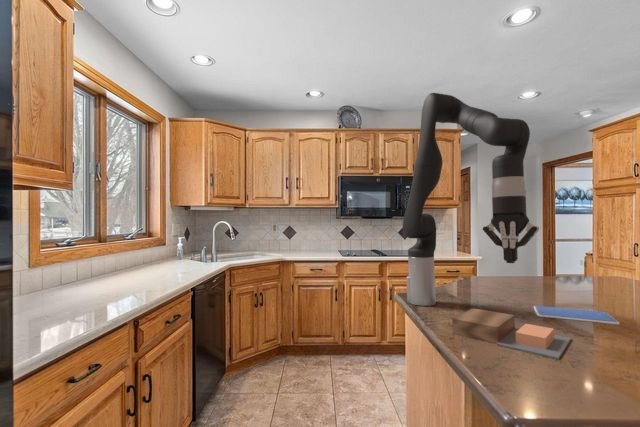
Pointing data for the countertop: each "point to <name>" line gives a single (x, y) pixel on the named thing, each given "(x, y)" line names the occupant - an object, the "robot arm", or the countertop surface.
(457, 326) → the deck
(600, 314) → the tablet computer
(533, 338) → the orange rectangular block
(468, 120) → the robot arm
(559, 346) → the mat
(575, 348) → the countertop surface
